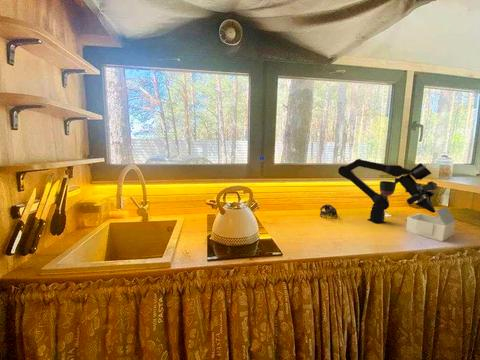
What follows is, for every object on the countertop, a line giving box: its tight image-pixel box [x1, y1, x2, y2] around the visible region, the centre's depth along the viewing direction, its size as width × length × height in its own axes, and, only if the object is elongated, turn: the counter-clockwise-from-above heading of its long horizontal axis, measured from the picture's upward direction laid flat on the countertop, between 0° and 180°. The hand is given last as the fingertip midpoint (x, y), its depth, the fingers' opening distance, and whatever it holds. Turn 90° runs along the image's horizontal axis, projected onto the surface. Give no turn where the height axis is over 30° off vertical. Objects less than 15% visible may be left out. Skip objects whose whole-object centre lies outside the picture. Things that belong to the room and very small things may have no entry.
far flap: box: [435, 206, 456, 225], centre depth 106 cm, size 7×12×1 cm
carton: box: [405, 212, 456, 243], centre depth 112 cm, size 15×15×7 cm
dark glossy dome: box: [319, 203, 338, 219], centre depth 136 cm, size 12×10×8 cm
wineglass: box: [379, 180, 397, 217], centre depth 139 cm, size 8×9×20 cm
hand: (434, 212), depth 110 cm, fingers closed
